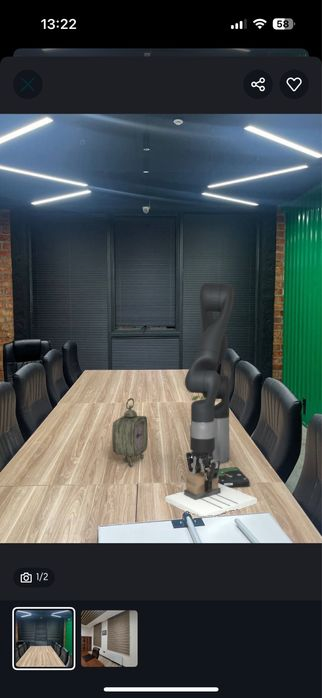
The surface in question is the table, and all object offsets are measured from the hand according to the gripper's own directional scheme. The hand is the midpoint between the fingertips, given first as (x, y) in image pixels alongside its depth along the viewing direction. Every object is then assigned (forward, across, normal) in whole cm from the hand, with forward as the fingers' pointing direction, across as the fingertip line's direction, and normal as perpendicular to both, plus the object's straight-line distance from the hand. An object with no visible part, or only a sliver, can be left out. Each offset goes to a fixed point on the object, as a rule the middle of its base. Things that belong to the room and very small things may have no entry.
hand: (202, 488), depth 155 cm
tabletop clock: (+4, +46, -2) cm, 46 cm away
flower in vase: (+5, +72, -59) cm, 93 cm away
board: (+3, -4, 0) cm, 5 cm away
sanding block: (+2, 0, 0) cm, 2 cm away
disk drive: (+4, +8, -18) cm, 20 cm away
